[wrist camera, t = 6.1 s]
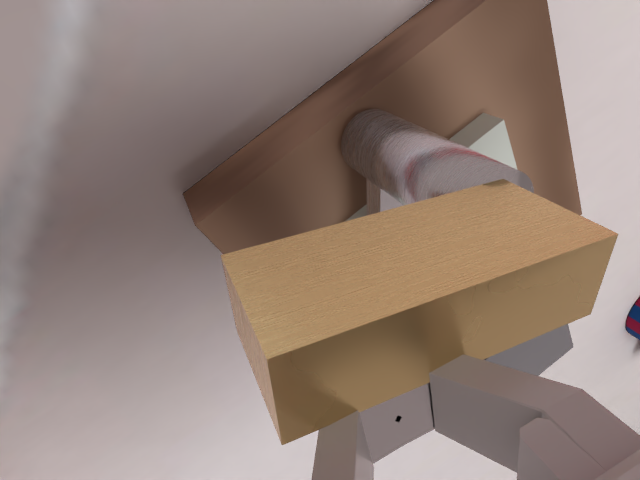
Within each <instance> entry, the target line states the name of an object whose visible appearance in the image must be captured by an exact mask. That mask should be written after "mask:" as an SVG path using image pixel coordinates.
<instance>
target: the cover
mask: <svg viewBox="0 0 640 480" xmlns="http://www.w3.org/2000/svg"><path fill="white" fill-rule="evenodd" d="M449 140H451V141H454V142H456V143H458V144H460V145H463V146H465V147H467V148H469V149H472V150H474V151H476V152H479V153H481V154H483V155H485V156H488V157H490V158H492V159H494V160H497V161H499V162H501V163H503V164H506V165H508V166H510V167H512V168H515V169H517V166H516V162H515V158H514V155H513V151H512V147H511V144H510V140H509V136H508V133H507V129H506V125H505V122H504V119H501V118H498V117H495V116H492V115H489V114H486V113H482V114H481V115H479V116H478V117H477V118H476V119H474V120H473V121H472V122H471V123H469V124H468V125H467V126H465V127H464V128H463V129H462V130H460V131H459V132H458V133H457V134H455V135H454V136H453V137H451V138H450V139H449ZM517 170H518V169H517ZM363 216H367V204H366V205H365V206H364V207H362V208H361V209H360V210H358V211H357V212H356V213H355V214H353V215H352V216H351V217H350V218H348V219H347V220H346V221H349V220H352V219H356V218H360V217H363ZM344 222H345V221H344ZM571 348H573V343H572V339H571V335H570V331H569V327H568V324H566V325H564V326H561V327H559V328H557V329H554V330H552V331H550V332H547V333H545V334H542V335H540V336H538V337H535V338H533V339H531V340H528V341H526V342H524V343H521V344H519V345H517V346H514V347H512V348H510V349H507V350H505V351H503V352H500V353H498V354H495V355H493V356H491V357H488V358H486V359H484V360H485V361H488V362H491V363H495V364H498V365H502V366H505V367H508V368H512V369H515V370H519V371H522V372H525V373H529V374H532V375H536V376H538V375H540V374H541V373H542V372H543V371H545V370H546V369H547V368H548V367H549V366H551V365H552V364H553V363H554V362H556V361H557V360H558V359H559V358H560V357H562V356H563V355H564V354H565V353H567V352H568V351H569V350H570V349H571Z"/></svg>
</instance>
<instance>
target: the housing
mask: <svg viewBox="0 0 640 480" xmlns="http://www.w3.org/2000/svg"><path fill="white" fill-rule="evenodd" d="M368 109H381V110H384V111H386V112H388V113H390V114H393V115H395V116H397V117H399V118H402V119H404V120H406V121H409V122H411V123H413V124H415V125H418V126H420V127H422V128H424V129H427V130H429V131H431V132H433V133H436V134H438V135H440V136H442V137H445V138H447V139H450V138H451V137H453V136H454V135H455V134H457V133H458V132H459V131H460V130H462V129H463V128H464V127H465V126H467V125H468V124H469V123H471V122H472V121H473V120H474V119H476V118H477V117H478V116H479V115H481V114H482V113H486V114H489V115H492V116H495V117H498V118H501V119H504V122H505V125H506V129H507V133H508V136H509V140H510V144H511V147H512V151H513V155H514V158H515V162H516V166H517V169H518V170H519V171H521V172H523V173H525V174H526V175H527V176H528V177H529V178H530V180H531V182H532V184H533V188H534V194H536V195H538V196H540V197H543V198H545V199H547V200H549V201H551V202H553V203H555V204H557V205H559V206H561V207H563V208H565V209H567V210H570V211H572V212H574V213H576V214H578V215H581V214H582V211H581V205H580V198H579V192H578V186H577V180H576V174H575V168H574V162H573V156H572V150H571V144H570V138H569V132H568V125H567V119H566V113H565V107H564V101H563V95H562V89H561V83H560V77H559V71H558V65H557V59H556V53H555V46H554V40H553V34H552V28H551V22H550V16H549V10H548V4H547V0H434V1H433V2H431V3H430V4H429V5H427V6H426V7H425V8H423V9H422V10H421V11H420V12H418V13H417V14H416V15H414V16H413V17H412V18H411V19H409V20H408V21H407V22H405V23H404V24H403V25H401V26H400V27H399V28H398V29H396V30H395V31H394V32H392V33H391V34H390V35H388V36H387V37H386V38H385V39H383V40H382V41H381V42H379V43H378V44H377V45H375V46H374V47H373V48H372V49H370V50H369V51H368V52H366V53H365V54H364V55H362V56H361V57H360V58H359V59H357V60H356V61H355V62H353V63H352V64H351V65H349V66H348V67H347V68H346V69H344V70H343V71H342V72H340V73H339V74H338V75H336V76H335V77H334V78H333V79H331V80H330V81H329V82H327V83H326V84H325V85H323V86H322V87H321V88H320V89H318V90H317V91H316V92H314V93H313V94H312V95H310V96H309V97H308V98H307V99H305V100H304V101H303V102H301V103H300V104H299V105H298V106H296V107H295V108H294V109H292V110H291V111H290V112H288V113H287V114H286V115H285V116H283V117H282V118H281V119H279V120H278V121H277V122H275V123H274V124H273V125H272V126H270V127H269V128H268V129H266V130H265V131H264V132H262V133H261V134H260V135H259V136H257V137H256V138H255V139H253V140H252V141H251V142H249V143H248V144H247V145H246V146H244V147H243V148H242V149H240V150H239V151H238V152H236V153H235V154H234V155H233V156H231V157H230V158H229V159H227V160H226V161H225V162H223V163H222V164H221V165H220V166H218V167H217V168H216V169H214V170H213V171H212V172H210V173H209V174H208V175H207V176H205V177H204V178H203V179H201V180H200V181H199V182H198V183H196V184H195V185H194V186H192V187H191V188H190V189H188V190H187V191H186V192H185V193H183V195H184V198H185V201H186V203H187V206H188V208H189V211H190V213H191V216H192V218H193V221H194V224H195V226H196V227H197V228H198V229H199V230H200V231H201V232H202V233H203V234H204V235H205V236H206V237H207V238H208V239H209V240H210V241H211V242H212V243H213V244H214V245H215V246H216V247H217V248H218V249H219V250H220V251H221V252H222V253H223V254H227V253H231V252H234V251H238V250H242V249H245V248H249V247H253V246H256V245H260V244H264V243H268V242H271V241H275V240H279V239H282V238H286V237H290V236H293V235H297V234H301V233H304V232H308V231H312V230H315V229H319V228H323V227H327V226H330V225H334V224H338V223H341V222H344V221H346V220H347V219H348V218H350V217H351V216H352V215H353V214H355V213H356V212H357V211H358V210H360V209H361V208H362V207H364V206H365V205H366V204H367V178H365V177H364V176H363V175H361V174H360V173H358V172H357V171H356V170H354V169H353V168H352V167H350V166H349V165H348V164H347V163H346V161H345V160H344V157H343V155H342V150H341V141H342V136H343V133H344V130H345V129H346V127H347V125H348V124H349V122H350V121H351V120H352V119H353V118H354V117H355V116H356V115H357V114H359V113H360V112H362V111H365V110H368Z"/></svg>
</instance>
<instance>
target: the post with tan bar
mask: <svg viewBox="0 0 640 480" xmlns="http://www.w3.org/2000/svg"><path fill="white" fill-rule="evenodd" d="M341 150H342V155H343V157H344V160H345V161H346V163H347V164H348V165H349V166H350V167H352V168H353V169H354V170H356V171H357V172H358V173H360V174H361V175H363V176H364V177H365V178H367V216H363V217H360V218H356V219H352V220H349V221H345V222H341V223H338V224H334V225H330V226H327V227H323V228H319V229H315V230H312V231H308V232H304V233H301V234H297V235H293V236H290V237H286V238H282V239H279V240H275V241H271V242H268V243H264V244H260V245H256V246H253V247H249V248H245V249H242V250H238V251H234V252H231V253H227V254H223V255H221V259H222V264H223V268H224V273H225V277H226V282H227V287H228V291H229V296H230V300H231V305H232V310H233V314H234V319H235V323H236V328H237V332H238V335H239V337H240V340H241V342H242V345H243V347H244V350H245V352H246V355H247V357H248V360H249V363H250V365H251V368H252V370H253V373H254V375H255V378H256V380H257V383H258V385H259V388H260V390H261V393H262V396H263V398H264V401H265V403H266V406H267V408H268V411H269V413H270V416H271V418H272V421H273V424H274V426H275V429H276V431H277V434H278V436H279V439H280V441H281V444H282V445H284V444H286V443H289V442H291V441H293V440H296V439H298V438H300V437H303V436H305V435H307V434H310V433H312V432H315V431H317V430H319V429H322V428H324V427H326V426H329V425H331V424H333V423H335V422H337V421H338V420H340V419H342V418H344V417H346V416H348V415H350V414H352V413H354V412H356V411H357V410H358V411H359V412H362V411H364V410H366V409H369V408H371V407H373V406H376V405H378V404H380V403H383V402H385V401H387V400H390V399H392V398H394V397H397V396H399V395H401V394H404V393H406V392H409V391H411V390H413V389H416V388H418V387H420V386H423V385H425V384H427V383H430V377H429V373H430V372H432V371H433V370H435V369H437V368H439V367H441V366H443V365H445V364H446V363H448V362H450V361H452V360H454V359H456V358H458V357H459V356H461V355H468V356H471V357H474V358H478V359H481V360H484V359H486V358H488V357H491V356H493V355H495V354H498V353H500V352H503V351H505V350H507V349H510V348H512V347H514V346H517V345H519V344H521V343H524V342H526V341H528V340H531V339H533V338H535V337H538V336H540V335H542V334H545V333H547V332H550V331H552V330H554V329H557V328H559V327H561V326H564V325H566V324H568V323H571V322H573V321H575V320H578V319H580V318H582V317H585V316H587V315H589V314H591V311H592V309H593V306H594V303H595V300H596V297H597V294H598V291H599V288H600V285H601V283H602V280H603V277H604V274H605V271H606V268H607V265H608V262H609V259H610V256H611V254H612V251H613V248H614V245H615V242H616V239H617V236H618V234H617V233H615V232H613V231H611V230H609V229H607V228H605V227H603V226H601V225H599V224H597V223H595V222H592V221H590V220H588V219H586V218H584V217H582V216H580V215H578V214H576V213H574V212H572V211H570V210H567V209H565V208H563V207H561V206H559V205H557V204H555V203H553V202H551V201H549V200H547V199H545V198H543V197H540V196H538V195H536V194H534V188H533V184H532V182H531V180H530V178H529V177H528V176H527V175H526V174H525V173H523V172H521V171H519V170H517V169H515V168H512V167H510V166H508V165H506V164H503V163H501V162H499V161H497V160H494V159H492V158H490V157H488V156H485V155H483V154H481V153H479V152H476V151H474V150H472V149H469V148H467V147H465V146H463V145H460V144H458V143H456V142H454V141H451V140H449V139H447V138H445V137H442V136H440V135H438V134H436V133H433V132H431V131H429V130H427V129H424V128H422V127H420V126H418V125H415V124H413V123H411V122H409V121H406V120H404V119H402V118H399V117H397V116H395V115H393V114H390V113H388V112H386V111H384V110H381V109H368V110H365V111H362V112H360V113H359V114H357V115H356V116H355V117H354V118H353V119H352V120H351V121H350V122H349V124H348V125H347V127H346V129H345V130H344V133H343V136H342V141H341Z"/></svg>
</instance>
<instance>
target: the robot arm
mask: <svg viewBox="0 0 640 480" xmlns="http://www.w3.org/2000/svg"><path fill="white" fill-rule="evenodd" d="M429 377H430V383H427V384H425V385H423V386H420V387H418V388H416V389H413V390H411V391H409V392H406V393H404V394H401V395H399V396H397V397H394V398H392V399H390V400H387V401H385V402H383V403H380V404H378V405H376V406H373V407H371V408H369V409H366V410H364V411H362V412H359V411H358V410H357V411H356V412H354V413H352V414H350V415H348V416H346V417H344V418H342V419H340V420H338V421H337V422H335V423H333V424H331V425H329V426H326V427H324V428H322V429H319V433H318V439H317V446H316V453H315V460H314V467H313V473H312V480H374V466H373V463H375V462H377V461H378V460H380V459H382V458H383V457H385V456H387V455H388V454H390V453H392V452H393V451H395V450H397V449H398V448H400V447H401V446H403V445H405V444H407V443H409V442H411V441H413V440H414V439H416V438H418V437H420V436H422V435H424V434H426V433H428V432H430V431H431V430H433V429H435V431H437V432H439V433H441V434H443V435H445V436H446V437H448V438H450V439H452V440H454V441H456V442H458V443H460V444H462V445H464V446H466V447H468V448H470V449H472V450H474V451H476V452H478V453H480V454H482V455H483V456H485V457H487V458H489V459H491V460H493V461H495V462H497V463H499V464H501V465H503V466H505V467H507V468H509V469H511V470H513V471H515V472H517V480H640V435H638V434H637V433H636V432H635V431H634V430H632V429H631V428H630V427H629V426H627V425H626V424H625V423H624V422H622V421H621V420H620V419H619V418H617V417H616V416H615V415H614V414H612V413H611V412H610V411H609V410H607V409H606V408H605V407H604V406H602V405H601V404H600V403H599V402H597V401H596V400H595V399H594V398H593V397H591V396H590V395H589V394H588V393H586V392H585V391H584V390H583V389H580V388H577V387H573V386H570V385H566V384H563V383H560V382H556V381H553V380H549V379H546V378H543V377H539V376H536V375H532V374H529V373H525V372H522V371H519V370H515V369H512V368H508V367H505V366H502V365H498V364H495V363H491V362H488V361H485V360H481V359H478V358H474V357H471V356H468V355H461V356H459V357H458V358H456V359H454V360H452V361H450V362H448V363H446V364H445V365H443V366H441V367H439V368H437V369H435V370H433V371H432V372H430V373H429Z"/></svg>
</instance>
